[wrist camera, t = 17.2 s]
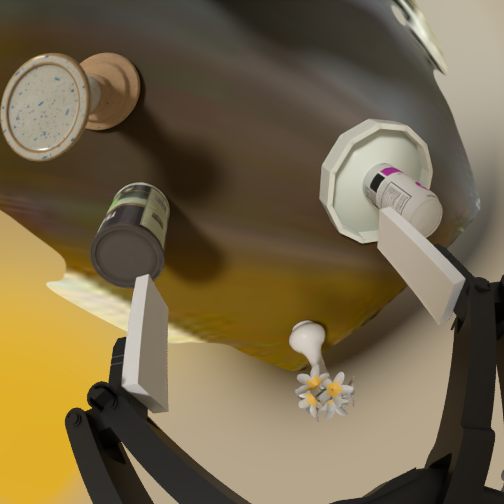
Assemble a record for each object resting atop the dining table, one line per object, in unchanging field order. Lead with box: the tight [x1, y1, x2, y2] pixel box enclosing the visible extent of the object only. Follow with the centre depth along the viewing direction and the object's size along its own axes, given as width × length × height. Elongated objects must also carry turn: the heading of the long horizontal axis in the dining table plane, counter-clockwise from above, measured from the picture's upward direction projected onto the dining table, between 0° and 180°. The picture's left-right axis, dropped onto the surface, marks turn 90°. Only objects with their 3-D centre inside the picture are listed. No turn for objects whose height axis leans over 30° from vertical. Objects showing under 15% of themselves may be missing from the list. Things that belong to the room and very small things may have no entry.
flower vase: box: [289, 320, 355, 421], centre depth 62 cm, size 13×18×25 cm
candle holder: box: [0, 53, 140, 161], centre depth 26 cm, size 12×12×20 cm
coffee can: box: [90, 183, 170, 289], centre depth 41 cm, size 10×10×14 cm
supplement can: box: [362, 163, 443, 238], centre depth 44 cm, size 8×8×15 cm
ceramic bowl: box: [319, 119, 433, 243], centre depth 50 cm, size 24×24×4 cm
